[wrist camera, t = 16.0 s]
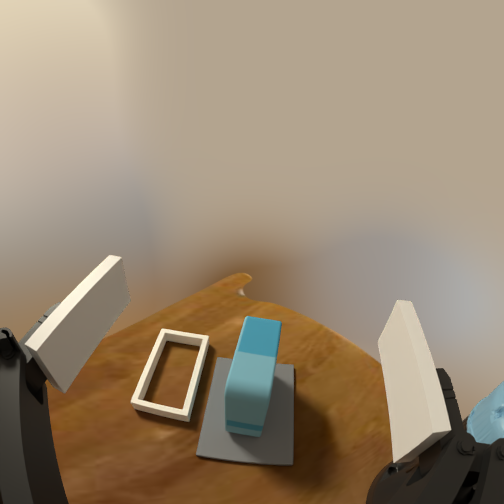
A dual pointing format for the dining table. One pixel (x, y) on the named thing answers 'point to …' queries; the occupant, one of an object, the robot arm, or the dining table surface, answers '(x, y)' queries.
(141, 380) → the cradle
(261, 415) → the blue rounded block
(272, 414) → the mat
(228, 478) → the dining table surface
